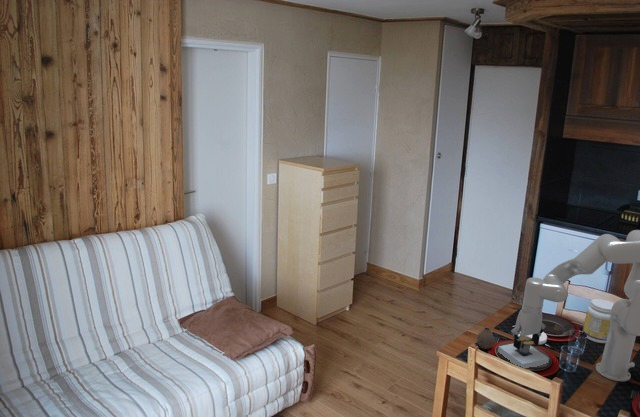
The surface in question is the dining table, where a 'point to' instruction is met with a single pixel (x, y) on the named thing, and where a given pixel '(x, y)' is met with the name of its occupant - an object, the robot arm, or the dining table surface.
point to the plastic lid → (541, 340)
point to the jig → (526, 361)
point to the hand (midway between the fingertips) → (525, 345)
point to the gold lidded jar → (525, 345)
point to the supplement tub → (598, 320)
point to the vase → (485, 338)
